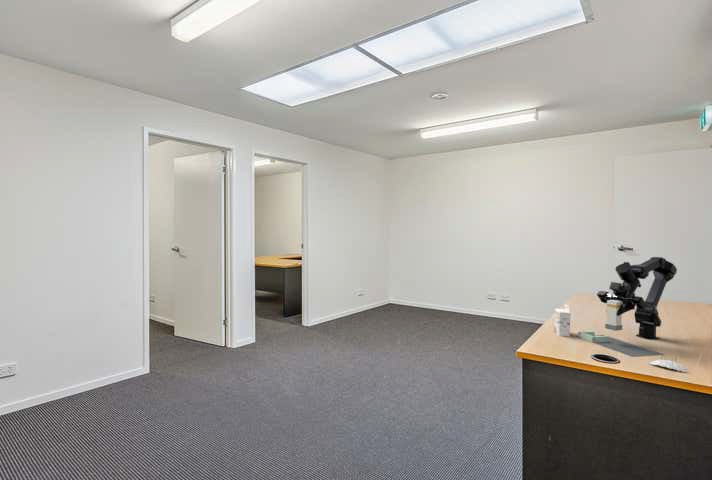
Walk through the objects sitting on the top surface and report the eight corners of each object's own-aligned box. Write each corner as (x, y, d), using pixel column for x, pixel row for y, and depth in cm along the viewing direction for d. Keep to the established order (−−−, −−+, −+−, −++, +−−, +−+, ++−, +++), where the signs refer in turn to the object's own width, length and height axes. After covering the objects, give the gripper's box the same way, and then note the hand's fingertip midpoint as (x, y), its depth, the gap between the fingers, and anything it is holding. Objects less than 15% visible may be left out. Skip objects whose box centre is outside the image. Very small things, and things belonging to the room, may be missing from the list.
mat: (603, 335, 189) (603, 334, 188) (665, 355, 159) (665, 354, 159) (574, 337, 185) (574, 336, 185) (632, 357, 156) (632, 356, 156)
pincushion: (645, 366, 147) (645, 351, 147) (651, 363, 151) (651, 348, 150) (686, 376, 137) (686, 360, 137) (691, 372, 141) (692, 357, 141)
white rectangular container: (611, 327, 177) (612, 299, 177) (622, 329, 173) (623, 301, 172) (605, 328, 175) (606, 300, 175) (615, 330, 171) (616, 302, 170)
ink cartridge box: (553, 332, 194) (554, 302, 193) (564, 332, 193) (565, 302, 192) (558, 336, 186) (559, 305, 185) (570, 337, 185) (571, 306, 184)
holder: (594, 336, 186) (594, 331, 185) (610, 341, 177) (610, 336, 177) (578, 337, 184) (578, 331, 184) (593, 342, 175) (594, 337, 175)
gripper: (600, 273, 183) (583, 298, 179) (643, 278, 167) (627, 306, 162) (610, 289, 187) (594, 314, 183) (653, 295, 170) (637, 323, 166)
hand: (612, 314), depth 173 cm, fingers closed on white rectangular container, 4 cm apart
